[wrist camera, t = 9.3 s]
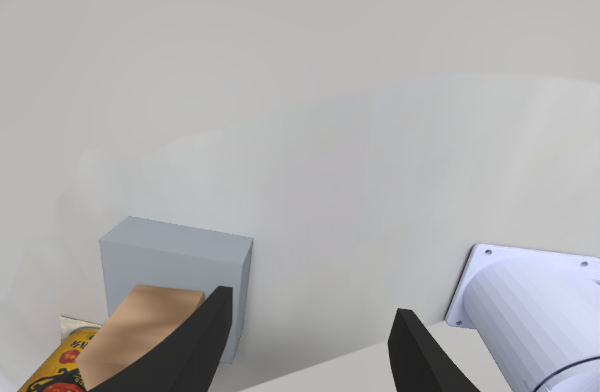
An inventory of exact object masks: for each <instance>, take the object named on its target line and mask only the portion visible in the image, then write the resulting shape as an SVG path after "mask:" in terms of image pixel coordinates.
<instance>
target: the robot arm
mask: <svg viewBox="0 0 600 392" xmlns="http://www.w3.org/2000/svg"><path fill="white" fill-rule="evenodd" d="M486 250H489V251H488V252H487V253H485V251H486ZM582 262H583V263H582ZM232 316H233V287H226V286H218V287H217V288H216V289H215V290H214V291H213V292H212V293H211V294H210V295H209V297H208V298H207V299H206V300H205V301H204V302H203V303H202V304H201V305H200V306H199V307H198V308H197V309H196V310H195V311H194V312H193V313H192V314H191V315H190V316H189V317H188V318H187V319H186V320H185V321H184V322H183V323H182V324H181V325H180V326H179V327H177V328H176V329H175V330H174V331H173V332H172V333H171V334H170V335H168V336H167V337H166V338H165V339H164V340H163V341H161V342H160V343H159V344H158V345H156V346H155V347H154V348H152V349H151V350H150V351H149V352H147V353H146V354H145V355H143V356H142V357H140V358H139V359H138V360H136V361H135V362H133V363H132V364H131V365H129V366H128V367H126V368H125V369H123V370H122V371H120V372H118V373H117V374H115V375H114V376H112V377H110V378H109V379H107V380H105V381H104V382H102V383H100V384H99V385H97V386H95V387H94V388H92V389H90V390H88V391H87V392H207V391H208V389H209V387H210V384H211V382H212V379H213V377H214V374H215V372H216V369H217V367H218V364H219V362H220V359H221V357H222V354H223V352H224V349H225V347H226V344H227V340H228V337H229V333H230V329H231V326H232ZM445 320H446V323H447V324H448V325H449V326H454V327H462V328H470V329H477V331H478V333H479V334H480V336H481V338H482V339H483V341H484V343H485V345H486V346H487V348H488V350H489V352H490V353H491V355H492V357H493V358H494V360H495V362H496V364H497V365H498V367H499V369H500V371H501V372H502V374H503V376H504V377H505V379H506V381H507V383H508V384H509V386H510V388H511V389H512V391H513V392H600V258H596V257H588V256H579V255H571V254H563V253H555V252H546V251H538V250H530V249H522V248H513V247H505V246H497V245H488V244H477V245H475V246H474V247H473V249H472V251H471V254H470V256H469V259H468V262H467V264H466V267H465V269H464V272H463V274H462V277H461V280H460V282H459V285H458V287H457V290H456V292H455V295H454V298H453V300H452V303H451V305H450V308H449V310H448V313H447V316H446V318H445ZM457 321H458V322H457ZM388 350H389V358H390V364H391V370H392V373H393V378H394V382H395V386H396V390H397V392H480V391H479V390H478V389H477V388H476V387H475V386H474V385H473V384H472V382H471V381H470V380H469V379H468V378H467V377H466V376H465V375H464V374H463V373H462V372H461V370H460V369H459V368H458V367H457V366H456V365H455V364H454V363H453V361H452V360H451V359H450V358H449V357H448V356H447V354H446V353H445V352H444V351H443V350H442V348H441V347H440V346H439V345H438V343H437V342H436V341H435V339H434V338H433V337H432V335H431V334H430V333H429V332H428V330H427V329H426V328H425V326H424V325H423V324H422V322H421V321H420V320H419V318H418V317H417V316H416V314H415V313H414V312H413V311H412V310H408V309H400V308H398V309H397V313H396V316H395V319H394V323H393V326H392V329H391V333H390V336H389V339H388Z"/></svg>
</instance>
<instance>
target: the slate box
mask: <svg viewBox="0 0 600 392" xmlns="http://www.w3.org/2000/svg"><path fill="white" fill-rule="evenodd" d="M99 242H100V251H101V259H102V267H103V275H104V283H105V291H106V299H107V307H108V315H109V317H110V316H111V315H112V314H113V313H114V311H115V310H116V309H117V308H118V306H119V305H120V304H121V303H122V302H123V300H124V299H125V298H126V297H127V295H128V294H129V293H130V292H131V291H132V289H133V288H134V287H135V286H136V285H144V286H153V287H163V288H173V289H182V290H192V291H202V292H204V298H205V300H206V299H207V298H208V297H209V295H210V294H211V293H212V292H213V291H214V290H215V289H216V288H217V287H218V286H226V287H233V316H232V326H231V329H230V333H229V337H228V340H227V344H226V347H225V349H224V352H223V354H222V357H221V359H220V362H224V363H230V364H232V363H233V360H234V356H235V353H236V350H237V346H238V343H239V340H240V336H241V333H242V330H243V322H244V313H245V305H246V296H247V288H248V279H249V270H250V262H251V253H252V245H253V238H250V237H245V236H239V235H233V234H228V233H222V232H216V231H211V230H205V229H199V228H194V227H188V226H182V225H177V224H171V223H165V222H160V221H154V220H148V219H143V218H137V217H131V216H129V217H128V218H126V219H125V220H124V221H122V222H121V223H120V224H119V225H117V226H116V227H115V228H113V229H112V230H111V231H110V232H108V233H107V234H106V235H105V236H103V237H102V238H101V239H99Z"/></svg>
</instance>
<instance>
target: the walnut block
mask: <svg viewBox="0 0 600 392" xmlns="http://www.w3.org/2000/svg"><path fill="white" fill-rule="evenodd" d="M204 301H205V298H204V292H202V291H192V290H182V289H173V288H163V287H153V286H144V285H136V286H135V287H134V288H133V289H132V291H131V292H130V293H129V294H128V295H127V297H126V298H125V299H124V300H123V302H122V303H121V304H120V305H119V306H118V308H117V309H116V310H115V311H114V313H113V314H112V315H111V316H110V317H109V319H108V320H107V321H106V322H105V323H104V325H103V326H102V327H101V328H100V330H99V331H98V332H97V333H96V334H95V336H94V337H93V338H92V339H91V341H90V342H89V343H88V344H87V345H86V347H85V348H84V349H83V350H82V352H81V353H80V354H79V355H78V356H77V358H76V359H75V360H76V363H77V365H78V368H79V371H80V374H81V377H82V379H83V382H84V385H85V388H86V391H88V390H90V389H92V388H94V387H95V386H97V385H99V384H100V383H102V382H104V381H105V380H107V379H109V378H110V377H112V376H114V375H115V374H117V373H118V372H120V371H122V370H123V369H125V368H126V367H128V366H129V365H131V364H132V363H133V362H135V361H136V360H138V359H139V358H140V357H142V356H143V355H145V354H146V353H147V352H149V351H150V350H151V349H152V348H154V347H155V346H156V345H158V344H159V343H160V342H161V341H163V340H164V339H165V338H166V337H167V336H168V335H170V334H171V333H172V332H173V331H174V330H175V329H176V328H177V327H179V326H180V325H181V324H182V323H183V322H184V321H185V320H186V319H187V318H188V317H189V316H190V315H191V314H192V313H193V312H194V311H195V310H196V309H197V308H198V307H199V306H200V305H201V304H202V303H203V302H204Z"/></svg>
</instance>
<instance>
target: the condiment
mask: <svg viewBox="0 0 600 392" xmlns="http://www.w3.org/2000/svg"><path fill="white" fill-rule="evenodd" d="M59 319H60V328H61V330H60V333H61V345H60V346H59V347H58V348H57V349H56V350H55V351H54V352H53V353H52V354H51V356H50V357H49V358H48V359H47V360H46V361H45V362H44V363H43V364H42V365H41V366H40V367H39V368H38V370H37V371H36V372H35V373H34V374H33V375H32V376H31V377H30V378H29V379H28V380H27V382H26V383H25V384H24V385H23V386H22V387H21V388H20V389H19V390H18V391H17V392H87V391H86V388H85V385H84V382H83V379H82V377H81V374H80V371H79V368H78V365H77V363H76V360H75V359H76V358H77V356H78V355H79V354H80V353H81V352H82V350H83V349H84V348H85V347H86V345H87V344H88V343H89V342H90V341H91V339H92V338H93V337H94V336H95V334H96V333H97V332H98V331H99V330H100V328H101V327H102V325H97V324H93V323H89V322H85V321H79V320H74V319H70V318H66V317H62V316H59Z"/></svg>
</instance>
